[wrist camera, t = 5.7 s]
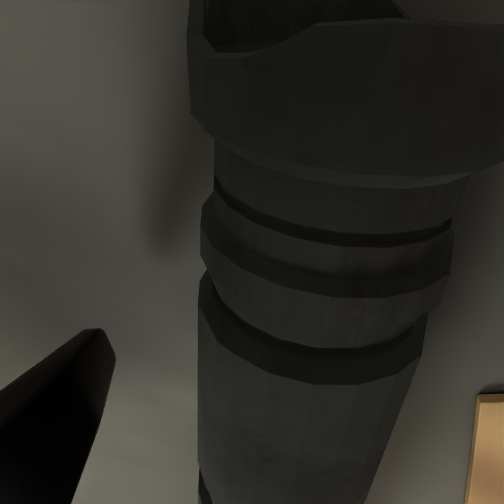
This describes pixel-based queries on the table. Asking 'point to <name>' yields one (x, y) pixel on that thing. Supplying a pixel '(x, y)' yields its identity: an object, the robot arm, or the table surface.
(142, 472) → the table surface
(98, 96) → the table surface
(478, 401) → the wooden block
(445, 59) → the flashlight
